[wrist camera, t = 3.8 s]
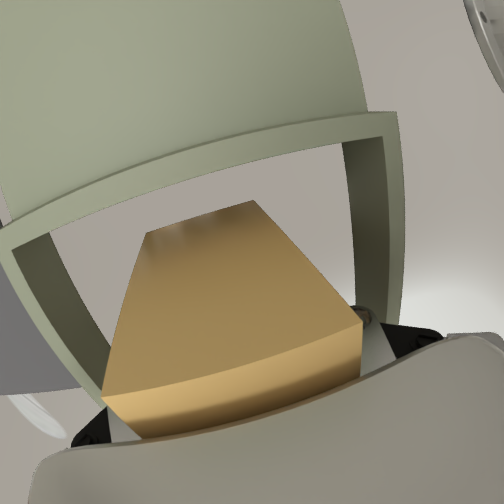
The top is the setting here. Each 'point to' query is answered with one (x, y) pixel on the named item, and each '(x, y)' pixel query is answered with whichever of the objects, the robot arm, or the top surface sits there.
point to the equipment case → (177, 131)
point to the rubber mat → (26, 350)
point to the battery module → (225, 327)
